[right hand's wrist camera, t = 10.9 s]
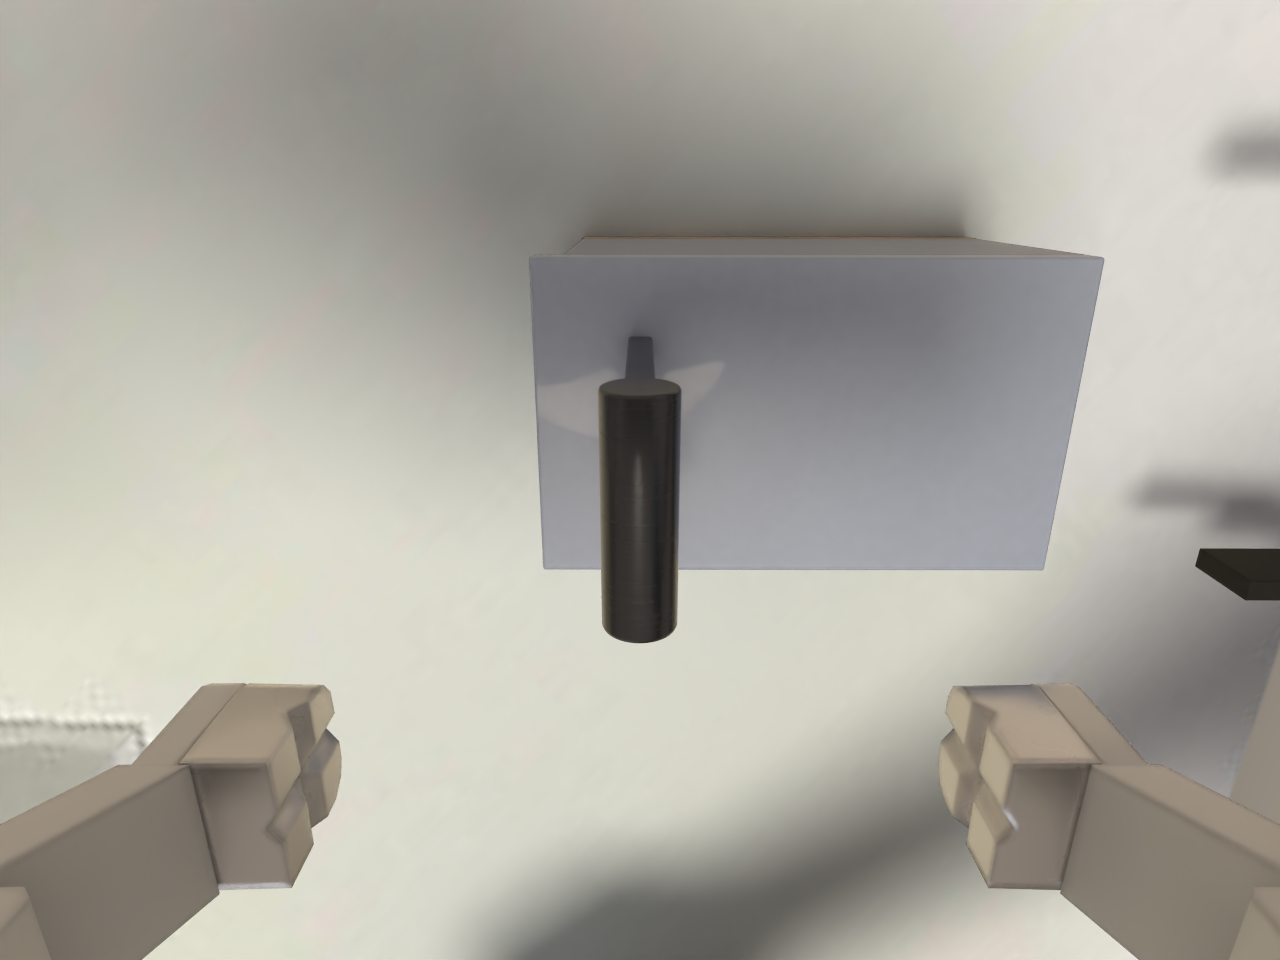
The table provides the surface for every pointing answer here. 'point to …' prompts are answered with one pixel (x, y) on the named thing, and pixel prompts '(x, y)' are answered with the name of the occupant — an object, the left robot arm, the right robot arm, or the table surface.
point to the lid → (800, 414)
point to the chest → (800, 246)
